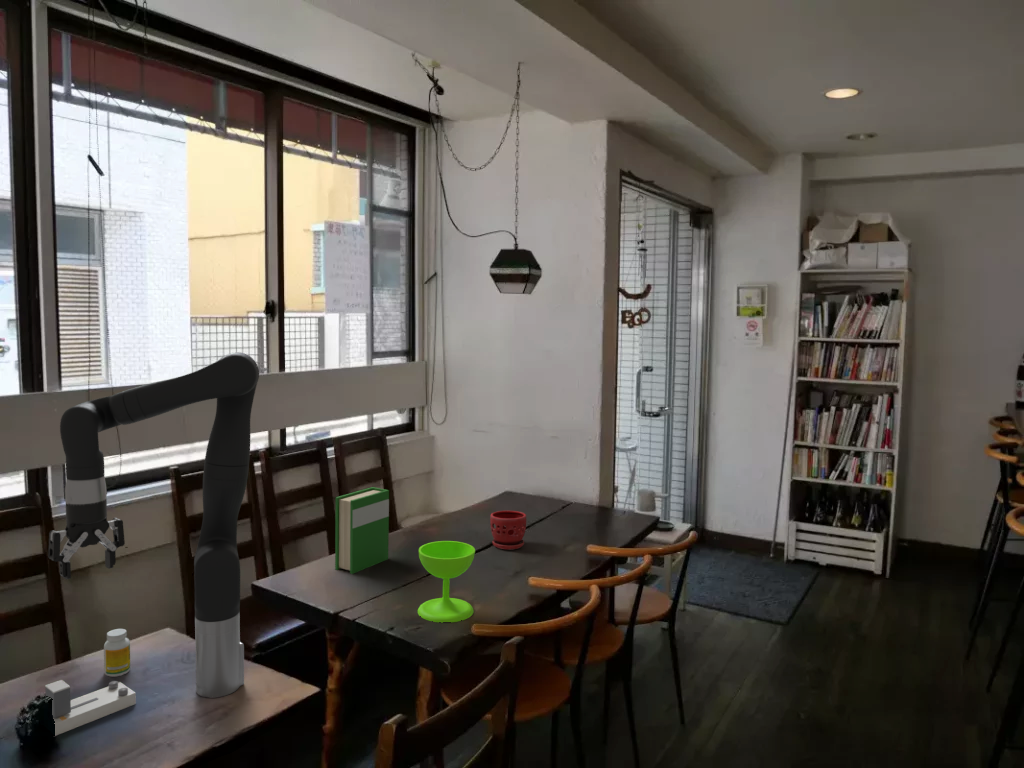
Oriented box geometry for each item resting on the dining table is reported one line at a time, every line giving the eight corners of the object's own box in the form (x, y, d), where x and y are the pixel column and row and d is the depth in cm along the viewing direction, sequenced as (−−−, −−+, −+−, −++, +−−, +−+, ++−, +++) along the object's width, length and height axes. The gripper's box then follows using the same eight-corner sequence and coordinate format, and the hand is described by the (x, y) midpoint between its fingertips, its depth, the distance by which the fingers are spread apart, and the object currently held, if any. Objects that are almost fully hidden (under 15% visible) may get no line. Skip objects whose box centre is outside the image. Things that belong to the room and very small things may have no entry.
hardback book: (352, 574, 241) (352, 500, 238) (335, 569, 245) (335, 497, 242) (388, 559, 256) (389, 490, 253) (371, 554, 260) (372, 487, 257)
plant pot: (532, 544, 276) (533, 513, 274) (513, 554, 265) (514, 521, 263) (502, 538, 283) (503, 507, 281) (482, 547, 271) (483, 514, 270)
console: (120, 692, 165) (119, 677, 164) (135, 703, 160) (135, 688, 160) (39, 723, 152) (39, 707, 152) (54, 736, 148) (53, 719, 148)
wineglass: (484, 608, 217) (486, 547, 215) (452, 627, 203) (453, 563, 201) (439, 596, 225) (440, 537, 223) (405, 613, 211) (406, 551, 209)
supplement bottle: (101, 671, 174) (99, 631, 173) (125, 664, 178) (124, 625, 177) (109, 679, 170) (108, 639, 169) (134, 672, 174) (133, 632, 173)
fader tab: (62, 705, 154) (61, 679, 153) (70, 712, 151) (70, 686, 151) (46, 711, 152) (45, 685, 151) (54, 718, 149) (53, 692, 148)
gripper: (112, 489, 165) (114, 560, 167) (41, 501, 154) (44, 577, 156) (129, 495, 161) (130, 568, 162) (56, 508, 150) (59, 586, 151)
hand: (88, 572), depth 159 cm, fingers open, 8 cm apart
